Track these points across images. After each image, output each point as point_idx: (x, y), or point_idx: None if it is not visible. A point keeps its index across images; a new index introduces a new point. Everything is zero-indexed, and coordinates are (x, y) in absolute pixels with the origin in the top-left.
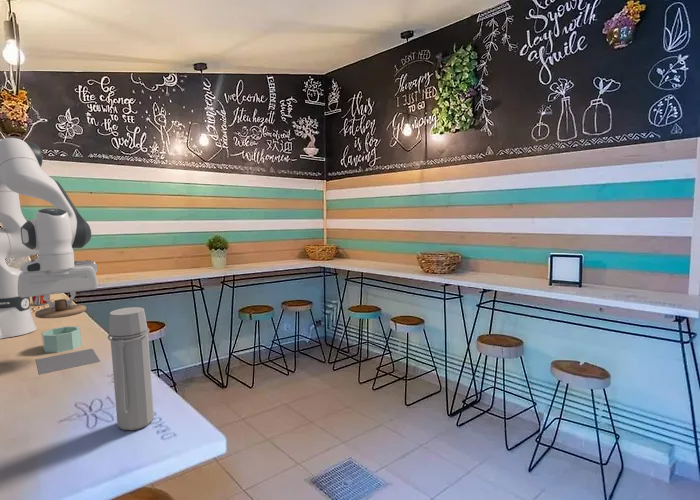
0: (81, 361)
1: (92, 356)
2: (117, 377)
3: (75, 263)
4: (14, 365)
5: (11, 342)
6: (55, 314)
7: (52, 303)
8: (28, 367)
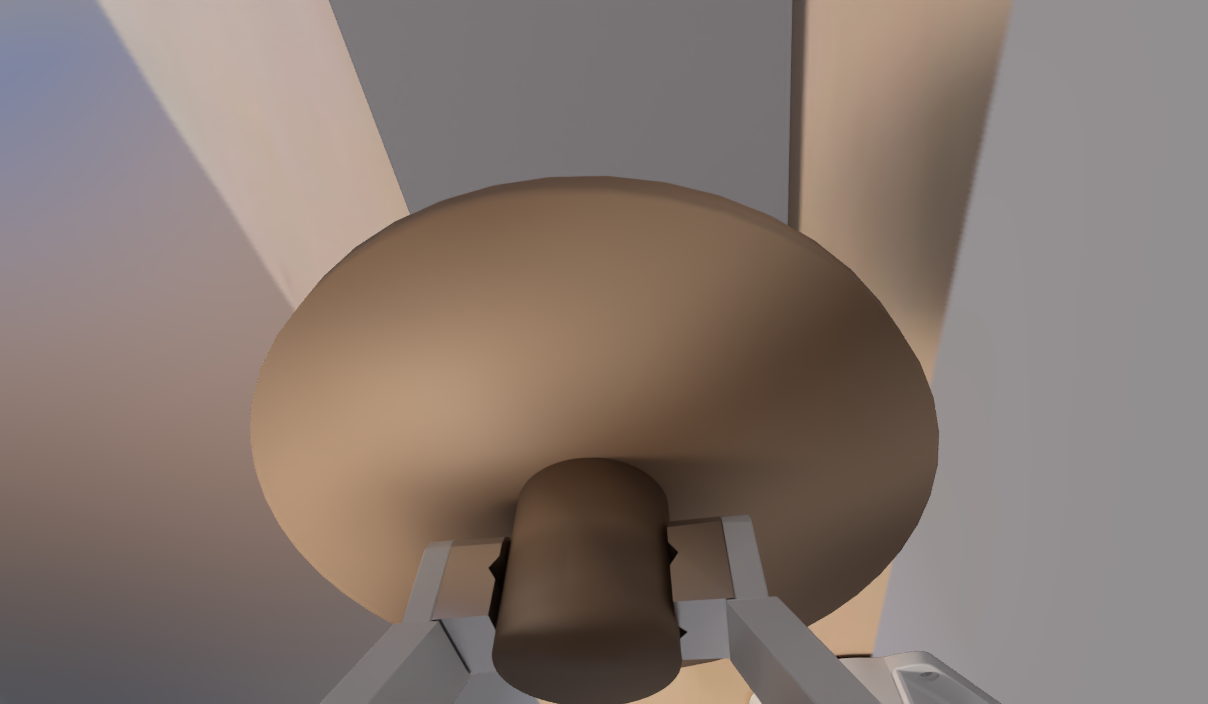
0: (465, 2)
1: (401, 103)
2: None
3: None
4: (910, 238)
5: (859, 604)
6: (658, 275)
7: (713, 594)
8: (841, 135)
